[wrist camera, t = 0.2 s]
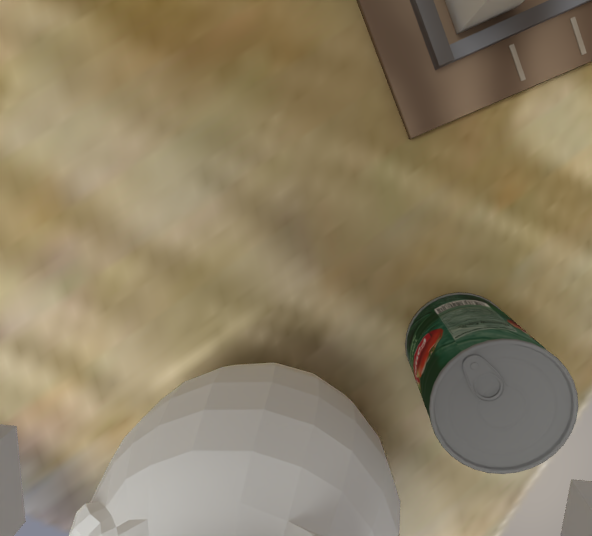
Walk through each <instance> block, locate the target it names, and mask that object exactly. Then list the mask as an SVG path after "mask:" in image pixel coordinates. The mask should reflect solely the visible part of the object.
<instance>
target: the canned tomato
mask: <svg viewBox="0 0 592 536" xmlns="http://www.w3.org/2000/svg"><path fill="white" fill-rule="evenodd" d="M405 348H406V355H407V358H408V361H409V364H410V366H411V368H412V371H413V374H414V376H415V379H416V382H417V385H418V387H419V390H420V393H421V396H422V398H423V401H424V404H425V407H426V409H427V412H428V415H429V418H430V421H431V424H432V427H433V430H434V433H435V435H436V437H437V438H438V440H439V442H440V443H441V445H442V446H443V448H444V449H445V450H446V451H447V452H448V453H449V454H450V455H451V456H452V457H454V458H455V459H456V460H458V461H459V462H461V463H462V464H464V465H466V466H468V467H471V468H473V469H475V470H479V471H483V472H487V473H497V474H506V473H516V472H520V471H524V470H527V469H530V468H533V467H535V466H537V465H539V464H541V463H543V462H544V461H546V460H547V459H549V458H550V457H551V456H553V455H554V454H555V453H556V452H557V451H558V450H559V449H560V448H561V447H562V446H563V445H564V443H565V442H566V440H567V439H568V437H569V436H570V434H571V432H572V430H573V427H574V424H575V422H576V418H577V411H578V397H577V391H576V388H575V384H574V381H573V379H572V377H571V376H570V374H569V372H568V370H567V369H566V367H565V366H564V365H563V364H562V363H561V362H560V361H559V360H558V358H557V357H555V356H554V355H553V354H551V353H550V352H548V351H547V350H546V349H545V348H544V347H543V346H541V345H540V344H539V343H538V342H537V341H536V340H535V339H534V338H532V337H531V336H530V335H529V334H528V333H527V332H525V330H523V329H522V328H521V327H520V326H519V325H517V324H516V323H515V322H514V321H513V320H512V319H511V318H509V317H508V316H507V315H506V314H505V313H504V312H502V311H501V310H500V309H499V308H498V306H496V305H495V304H493V303H492V302H491V301H489V300H487V299H485V298H483V297H481V296H478V295H474V294H470V293H451V294H446V295H443V296H440V297H437V298H435V299H434V300H432V301H430V302H428V303H427V304H426V305H425V306H423V307H422V308H421V309H420V310H419V311H418V312H417V314H416V315H415V316H414V317H413V319H412V321H411V323H410V325H409V327H408V331H407V334H406V343H405Z"/></svg>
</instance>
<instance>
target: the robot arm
mask: <svg viewBox="0 0 592 536" xmlns="http://www.w3.org/2000/svg"><path fill="white" fill-rule="evenodd" d="M25 522H26V521H25V511H24V500H23V489H22V479H21V468H20V458H19V447H18V437H17V426H11V425H0V536H14V535H15V534H16V532H17V531H18V530H19V529H20V528H21V526H22V525H23V524H24V523H25ZM561 536H592V481H582V480H571V484H570V489H569V494H568V499H567V504H566V510H565V515H564V520H563V526H562V531H561Z"/></svg>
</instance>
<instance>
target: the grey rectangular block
mask: <svg viewBox="0 0 592 536" xmlns="http://www.w3.org/2000/svg"><path fill="white" fill-rule="evenodd" d="M524 1H525V0H445V2H446V5H447V8H448V11H449V13H450V16H451V19H452V22H453V25H454V28H455V30H456V33H457V34H459V33H461V32H464V31H466V30H468V29H470V28H472V27H475V26H477V25H479V24H481V23H483V22H486V21H488V20H490V19H492V18H495V17H497V16H499V15H501V14H503V13H506V12H508V11H510V10H512V9H514V8H517V7H518V6H519V5H520V4H521V3H522V2H524Z"/></svg>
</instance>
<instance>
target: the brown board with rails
mask: <svg viewBox="0 0 592 536" xmlns="http://www.w3.org/2000/svg"><path fill="white" fill-rule="evenodd" d="M357 3H358V5H359V8H360V11H361V13H362V16H363V19H364V21H365V24H366V27H367V29H368V32H369V34H370V37H371V40H372V42H373V45H374V48H375V50H376V53H377V56H378V58H379V61H380V63H381V66H382V69H383V71H384V74H385V77H386V79H387V82H388V85H389V87H390V90H391V92H392V95H393V98H394V100H395V103H396V106H397V108H398V111H399V113H400V116H401V119H402V121H403V124H404V127H405V129H406V132H407V135H408V137H409V139H411V138H413V137H416V136H418V135H420V134H423V133H425V132H427V131H430V130H432V129H434V128H437V127H439V126H441V125H444V124H446V123H448V122H451V121H453V120H455V119H458V118H460V117H462V116H465V115H467V114H469V113H472V112H474V111H476V110H479V109H481V108H483V107H486V106H488V105H490V104H493V103H495V102H497V101H500V100H502V99H504V98H507V97H509V96H511V95H514V94H516V93H518V92H521V91H523V90H525V89H528V88H530V87H532V86H535V85H537V84H539V83H542V82H544V81H546V80H549V79H551V78H553V77H556V76H558V75H560V74H563V73H565V72H567V71H570V70H572V69H574V68H577V67H579V66H581V65H584V64H586V63H588V62H591V61H592V0H525V1H524V2H522V3H521V4H520V5H519V6H518V7H517V8H514V9H512V10H510V11H508V12H506V13H503V14H501V15H499V16H497V17H495V18H492V19H490V20H488V21H486V22H483V23H481V24H479V25H477V26H475V27H472V28H470V29H468V30H466V31H464V32H461V33H459V34H457V33H456V30H455V28H454V25H453V22H452V19H451V16H450V13H449V11H448V8H447V5H446V2H445V0H357Z"/></svg>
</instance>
